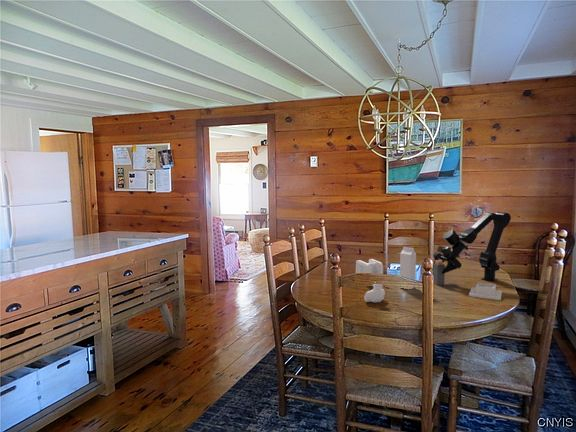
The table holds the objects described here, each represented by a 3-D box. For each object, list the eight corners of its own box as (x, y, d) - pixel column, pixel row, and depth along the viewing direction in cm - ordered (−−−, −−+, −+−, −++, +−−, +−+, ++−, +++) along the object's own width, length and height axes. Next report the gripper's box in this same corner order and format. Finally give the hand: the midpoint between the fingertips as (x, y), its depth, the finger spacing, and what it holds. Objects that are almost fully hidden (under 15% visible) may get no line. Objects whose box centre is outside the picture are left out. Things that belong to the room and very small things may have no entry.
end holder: (471, 289, 214) (472, 280, 214) (501, 292, 208) (502, 283, 207) (468, 296, 202) (469, 286, 202) (500, 300, 195) (501, 290, 195)
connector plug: (439, 282, 228) (440, 259, 226) (444, 284, 223) (445, 261, 222) (432, 283, 227) (433, 260, 225) (437, 285, 222) (437, 261, 221)
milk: (404, 286, 221) (405, 245, 219) (415, 288, 217) (416, 247, 215) (399, 288, 217) (400, 247, 215) (410, 290, 213) (411, 248, 211)
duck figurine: (366, 308, 192) (376, 293, 185) (358, 295, 197) (367, 280, 190) (385, 304, 198) (396, 289, 191) (376, 291, 203) (387, 277, 196)
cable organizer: (383, 284, 225) (384, 263, 224) (366, 285, 223) (366, 264, 221) (371, 277, 240) (371, 258, 239) (354, 278, 237) (354, 259, 236)
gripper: (436, 238, 233) (418, 258, 231) (457, 243, 215) (438, 265, 213) (448, 251, 235) (430, 271, 234) (469, 257, 217) (450, 279, 216)
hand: (436, 271), depth 224 cm, fingers open, 9 cm apart
